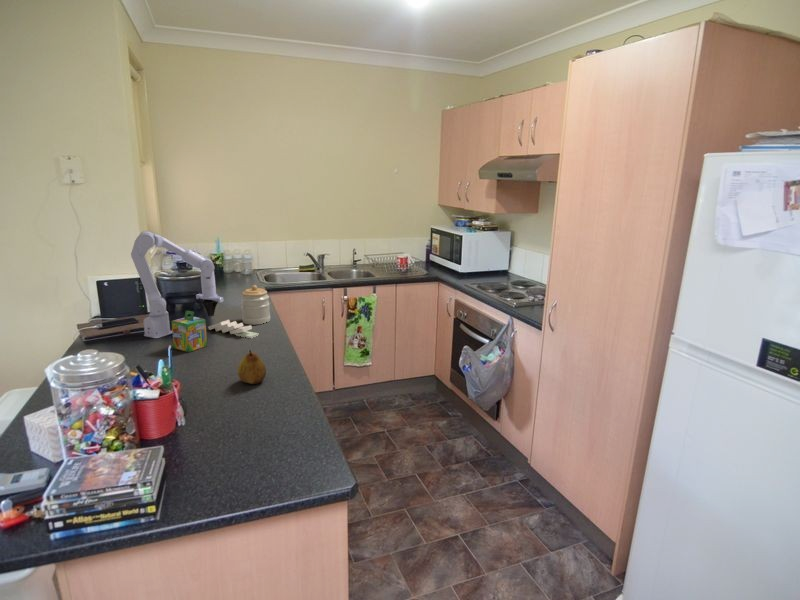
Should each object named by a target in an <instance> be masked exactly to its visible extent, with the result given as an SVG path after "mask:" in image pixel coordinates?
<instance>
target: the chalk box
mask: <svg viewBox="0 0 800 600" xmlns="http://www.w3.org/2000/svg"><path fill="white" fill-rule="evenodd" d="M188 315H190V316H188ZM194 315H195V312H194V311H191V310H185V313H184V317H182V318H177V319H174V320H171V321H170V322H171V331H172V344H173V346H172V347H173V349H175V350H179V351H182V352H186V353H191V352H193V351H197V350H200V349H203V348H205V347H208V338H207V325H206V323H207V322H206V319H205V318H202V317H197V316H194Z"/></svg>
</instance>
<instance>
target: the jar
mask: <svg viewBox="0 0 800 600" xmlns="http://www.w3.org/2000/svg"><path fill="white" fill-rule="evenodd" d="M269 298H270V296H269V294H268V291H267V290H265V288H260V287H258V286H257V285H256V284H253V285H252V286H251V288H247V289H245V290H244V291H242V296H241V297H240V300H241V304H240V306H241V315H242V316H241V321H242V323H243V324H245V325H248V326H250V325H251V326H252V325H254V326H255V325H264V324H267V323H270V321H271V312H270V311H271V309H270V301H269ZM266 322H267V323H266ZM263 323H264V324H263Z"/></svg>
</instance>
